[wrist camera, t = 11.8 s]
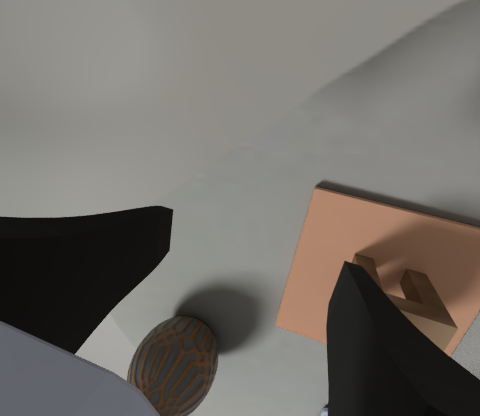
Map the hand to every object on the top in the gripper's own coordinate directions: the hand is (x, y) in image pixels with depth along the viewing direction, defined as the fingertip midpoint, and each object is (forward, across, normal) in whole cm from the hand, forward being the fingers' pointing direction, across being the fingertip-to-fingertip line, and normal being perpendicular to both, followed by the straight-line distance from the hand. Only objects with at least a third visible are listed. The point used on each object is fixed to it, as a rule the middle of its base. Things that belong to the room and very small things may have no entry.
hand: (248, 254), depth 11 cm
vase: (+10, +5, +16) cm, 19 cm away
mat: (+9, -8, +5) cm, 13 cm away
